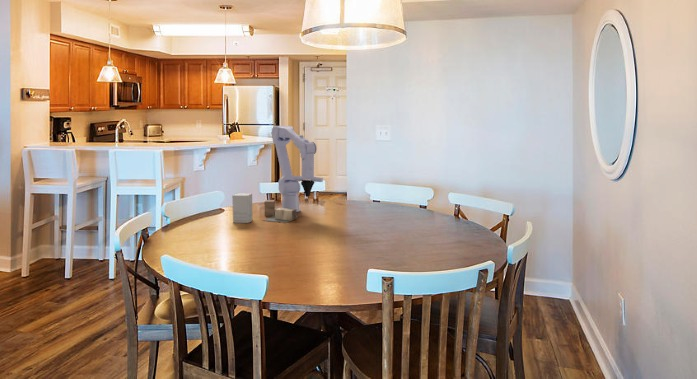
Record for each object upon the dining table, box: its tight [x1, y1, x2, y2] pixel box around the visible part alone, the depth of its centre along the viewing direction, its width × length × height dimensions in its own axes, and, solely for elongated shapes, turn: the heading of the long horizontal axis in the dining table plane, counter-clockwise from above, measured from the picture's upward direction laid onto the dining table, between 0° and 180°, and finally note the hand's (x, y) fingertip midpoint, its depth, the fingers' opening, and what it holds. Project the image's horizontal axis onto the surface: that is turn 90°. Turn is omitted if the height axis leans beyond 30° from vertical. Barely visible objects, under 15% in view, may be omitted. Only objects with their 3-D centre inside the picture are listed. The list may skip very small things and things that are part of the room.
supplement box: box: [231, 192, 254, 224], centre depth 226 cm, size 7×7×13 cm
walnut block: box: [264, 199, 276, 217], centre depth 243 cm, size 4×4×7 cm
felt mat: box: [262, 215, 299, 224], centre depth 234 cm, size 14×12×1 cm
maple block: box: [274, 207, 297, 221], centre depth 233 cm, size 4×4×9 cm
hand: (307, 196), depth 236 cm, fingers closed
